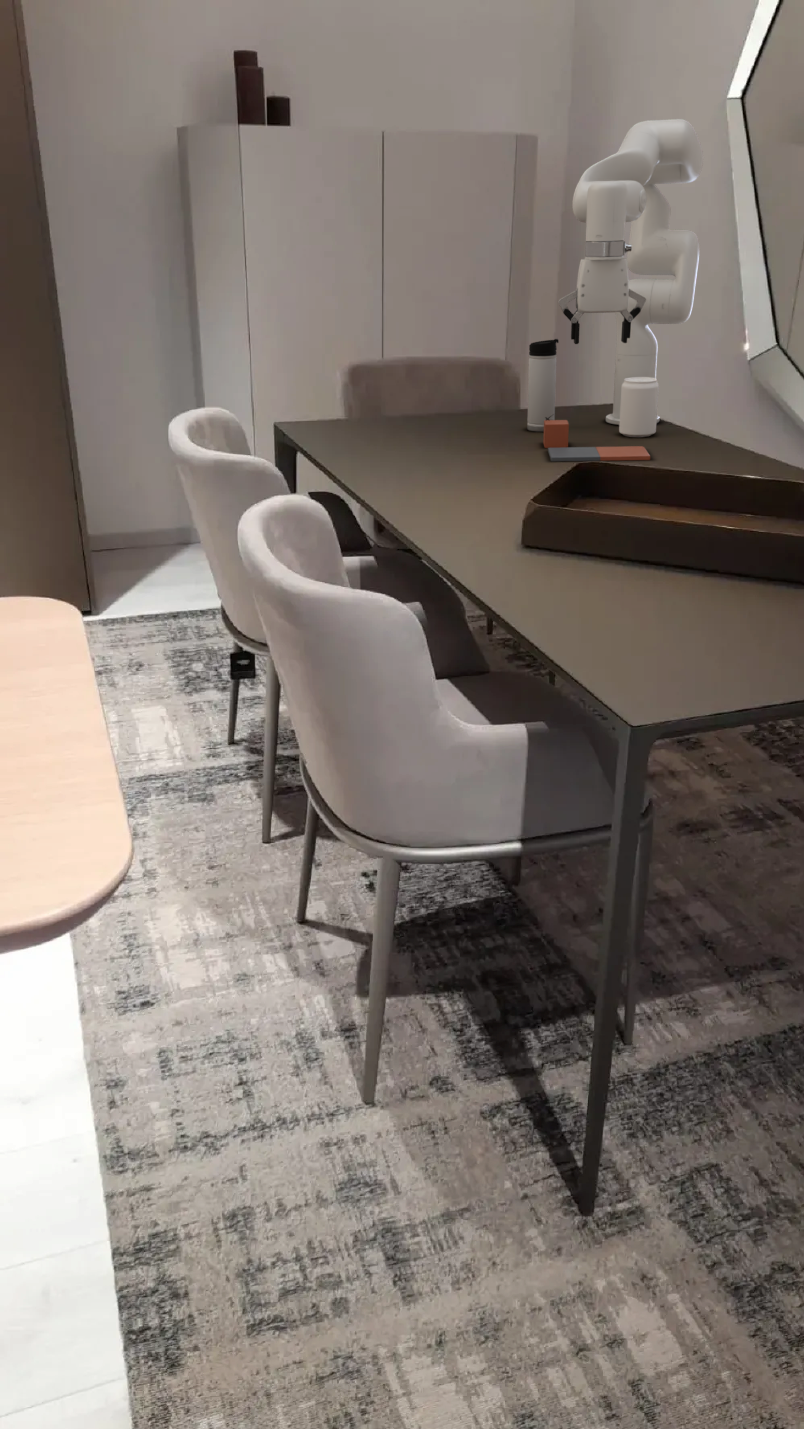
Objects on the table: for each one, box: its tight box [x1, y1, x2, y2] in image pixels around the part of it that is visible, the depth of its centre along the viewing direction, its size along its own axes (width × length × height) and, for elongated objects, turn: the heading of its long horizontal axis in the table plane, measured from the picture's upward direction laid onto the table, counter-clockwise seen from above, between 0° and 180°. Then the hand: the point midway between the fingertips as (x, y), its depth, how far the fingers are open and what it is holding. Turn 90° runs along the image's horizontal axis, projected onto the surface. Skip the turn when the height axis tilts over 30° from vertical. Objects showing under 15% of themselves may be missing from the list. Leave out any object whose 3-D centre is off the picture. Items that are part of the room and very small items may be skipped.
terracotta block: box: [542, 419, 570, 449], centre depth 238 cm, size 5×5×5 cm
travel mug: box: [526, 338, 559, 433], centre depth 252 cm, size 6×7×20 cm
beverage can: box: [618, 377, 660, 438], centre depth 245 cm, size 8×8×12 cm
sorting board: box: [547, 445, 651, 462], centre depth 228 cm, size 10×20×1 cm, turn 87°
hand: (600, 342), depth 223 cm, fingers open, 9 cm apart
